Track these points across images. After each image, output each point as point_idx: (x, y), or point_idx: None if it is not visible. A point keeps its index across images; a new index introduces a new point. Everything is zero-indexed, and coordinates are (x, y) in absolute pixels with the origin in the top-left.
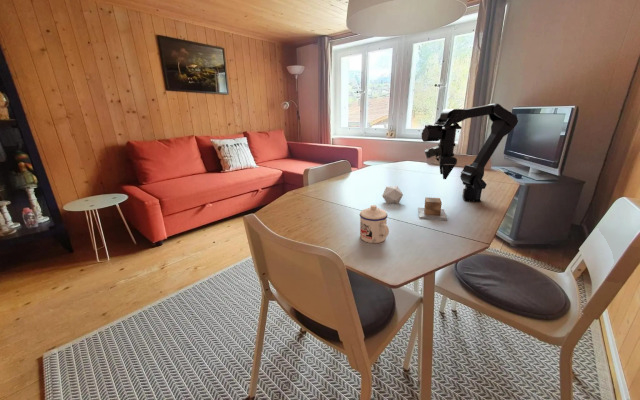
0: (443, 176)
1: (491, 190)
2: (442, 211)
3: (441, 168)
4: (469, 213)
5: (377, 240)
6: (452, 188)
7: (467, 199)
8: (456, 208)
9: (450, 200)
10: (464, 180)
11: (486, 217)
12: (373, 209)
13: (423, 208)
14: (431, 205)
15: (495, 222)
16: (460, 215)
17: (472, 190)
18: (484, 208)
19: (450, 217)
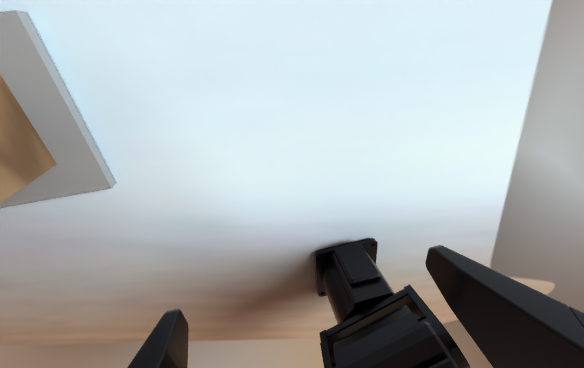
0: (141, 353)
1: None
2: (57, 186)
3: (494, 312)
4: (153, 276)
5: None
6: (499, 192)
7: (327, 260)
8: (197, 230)
9: (314, 198)
10: (378, 331)
11: (139, 320)
12: None
13: (26, 60)
14: None
15: (100, 342)
16: (97, 253)
17: (337, 311)
18: (246, 306)
19: (26, 220)
